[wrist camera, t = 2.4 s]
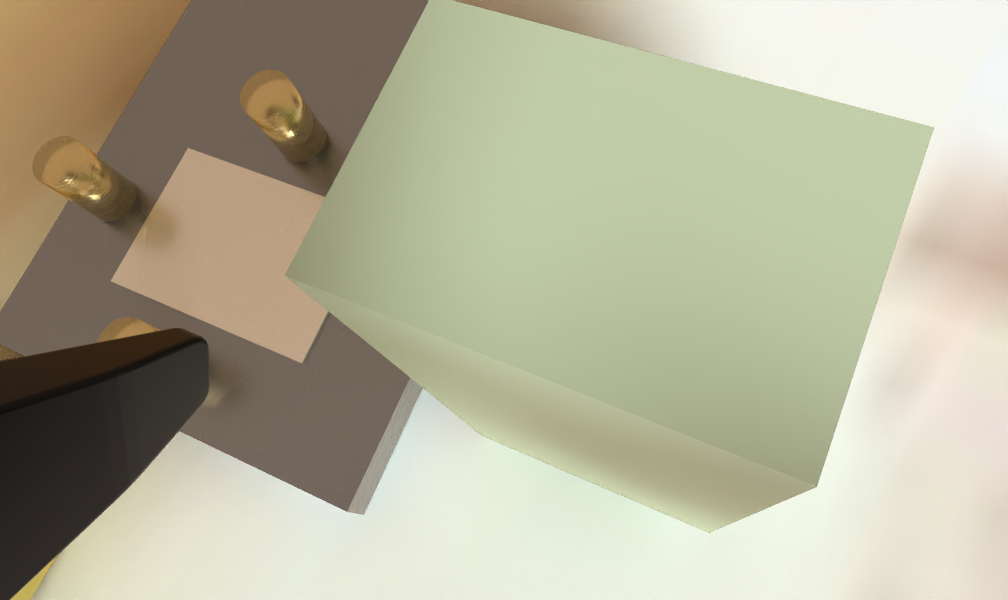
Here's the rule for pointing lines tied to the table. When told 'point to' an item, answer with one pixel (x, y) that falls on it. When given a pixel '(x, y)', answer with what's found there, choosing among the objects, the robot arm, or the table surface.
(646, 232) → the board block
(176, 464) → the table surface
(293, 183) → the chassis
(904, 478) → the table surface
